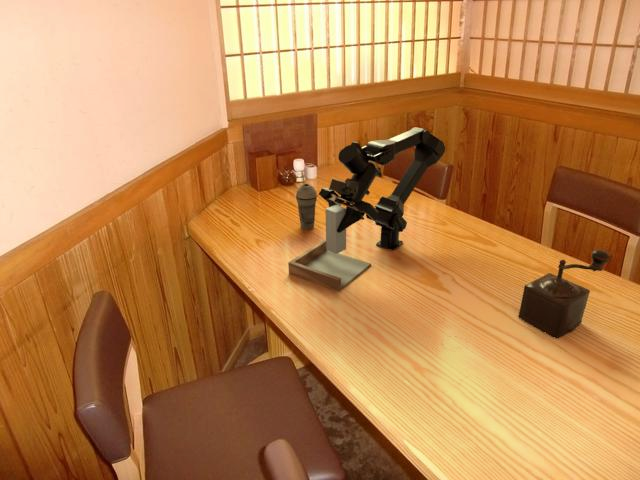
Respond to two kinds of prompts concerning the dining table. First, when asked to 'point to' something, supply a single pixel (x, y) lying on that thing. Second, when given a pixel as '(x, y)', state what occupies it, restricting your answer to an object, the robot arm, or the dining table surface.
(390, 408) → the dining table surface
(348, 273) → the tray
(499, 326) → the dining table surface
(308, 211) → the beverage cup
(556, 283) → the manual coffee grinder
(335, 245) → the slate block
